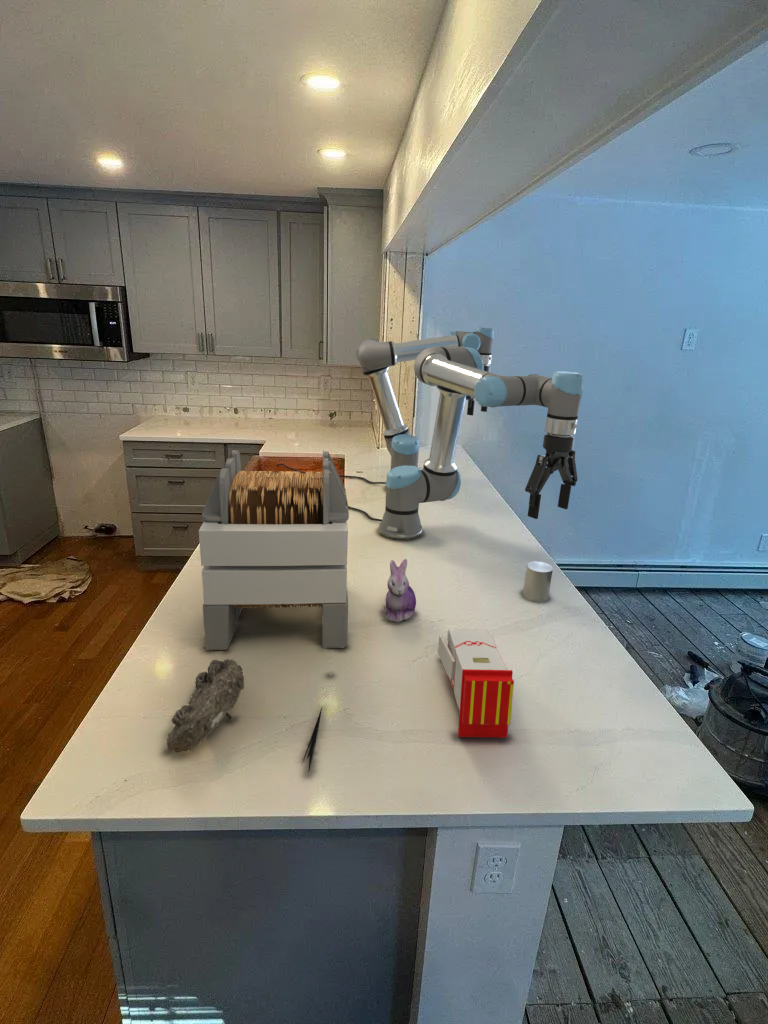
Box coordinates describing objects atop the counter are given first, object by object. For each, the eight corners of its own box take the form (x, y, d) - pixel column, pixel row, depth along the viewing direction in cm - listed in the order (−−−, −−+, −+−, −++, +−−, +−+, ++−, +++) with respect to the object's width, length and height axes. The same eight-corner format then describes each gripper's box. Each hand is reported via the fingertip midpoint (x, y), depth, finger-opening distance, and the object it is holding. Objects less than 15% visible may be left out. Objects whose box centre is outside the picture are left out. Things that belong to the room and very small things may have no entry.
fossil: (192, 660, 117) (244, 628, 112) (224, 691, 120) (276, 661, 115) (142, 746, 98) (202, 712, 93) (182, 779, 101) (242, 748, 96)
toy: (488, 613, 130) (523, 677, 101) (484, 667, 133) (517, 744, 104) (435, 612, 130) (455, 676, 101) (432, 666, 133) (451, 743, 103)
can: (543, 590, 164) (547, 561, 161) (552, 601, 157) (556, 572, 154) (519, 590, 163) (523, 561, 160) (527, 602, 157) (531, 572, 154)
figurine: (392, 627, 141) (395, 572, 136) (374, 608, 149) (376, 556, 144) (425, 619, 145) (429, 566, 140) (405, 601, 154) (408, 550, 149)
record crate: (226, 583, 159) (217, 441, 145) (342, 582, 163) (345, 443, 149) (203, 652, 127) (189, 478, 114) (348, 648, 131) (352, 480, 117)
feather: (331, 679, 122) (336, 673, 122) (307, 777, 96) (313, 769, 95) (324, 675, 122) (329, 669, 121) (298, 772, 95) (304, 764, 95)
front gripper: (543, 442, 134) (531, 526, 141) (599, 432, 150) (586, 507, 157) (517, 436, 140) (507, 517, 147) (574, 427, 155) (562, 500, 162)
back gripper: (476, 367, 235) (471, 417, 243) (501, 364, 255) (496, 411, 262) (460, 365, 240) (456, 415, 247) (486, 362, 259) (481, 409, 266)
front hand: (547, 512), depth 152 cm, fingers open, 13 cm apart
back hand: (477, 413), depth 254 cm, fingers open, 13 cm apart
